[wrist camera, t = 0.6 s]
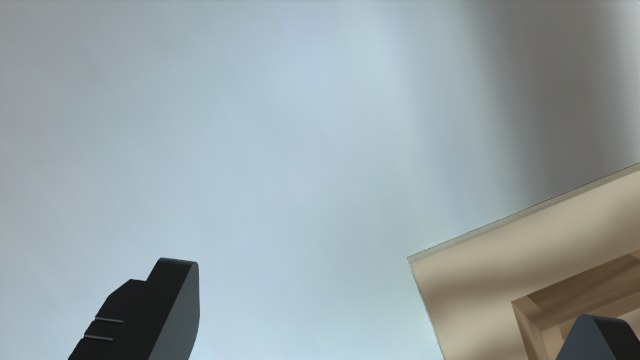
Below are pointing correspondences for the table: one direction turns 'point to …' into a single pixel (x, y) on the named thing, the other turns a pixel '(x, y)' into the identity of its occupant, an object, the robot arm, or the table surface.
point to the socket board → (536, 274)
